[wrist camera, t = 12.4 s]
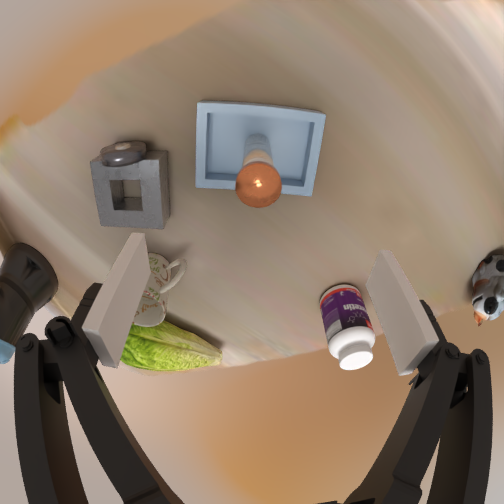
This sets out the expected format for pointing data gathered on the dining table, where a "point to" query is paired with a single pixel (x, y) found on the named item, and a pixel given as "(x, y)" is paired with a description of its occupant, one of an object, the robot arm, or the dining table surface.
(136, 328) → the lettuce
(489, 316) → the lucky cat figurine
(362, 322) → the pill bottle
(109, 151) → the block
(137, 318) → the mug
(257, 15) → the dining table surface
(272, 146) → the tray
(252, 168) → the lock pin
